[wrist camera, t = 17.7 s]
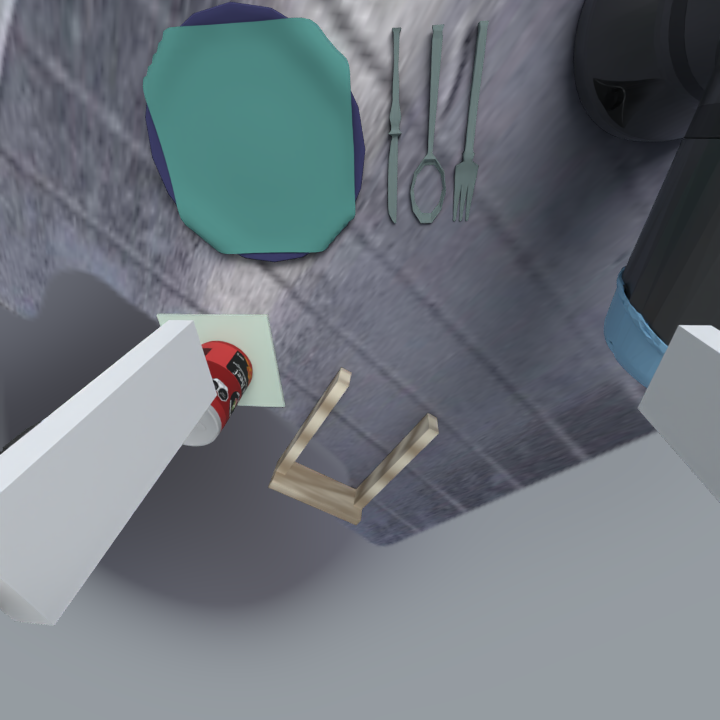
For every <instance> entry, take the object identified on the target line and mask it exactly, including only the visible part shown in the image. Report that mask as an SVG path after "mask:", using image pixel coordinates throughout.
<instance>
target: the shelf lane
mask: <svg viewBox="0 0 720 720" xmlns="http://www.w3.org/2000/svg"><path fill="white" fill-rule="evenodd" d="M350 377H351V372H349V371H347V370H345V369H343V368H342V367H341V369H340V370H339V372H338V373H337V375H336V376H335V377H334V379H333V380H332V382H331V383H330V385H329V386H328V388H327V389H326V391H325V392H324V394H323V395H322V397H321V398H320V400H319V401H318V403H317V404H316V406H315V407H314V409H313V410H312V411H311V413H310V414H309V416H308V417H307V419H306V420H305V422H304V423H303V425H302V426H301V428H300V429H299V431H298V432H297V434H296V435H295V437H294V438H293V440H292V441H291V443H290V444H289V446H288V447H287V448H286V450H285V452H284V453H283V454H282V456H281V457H280V459H279V460H278V462H277V465H276V468H275V470H274V473H273V476H272V478H271V481H270V484H269V488H271V489H273V490H276V491H278V492H280V493H282V494H285V495H287V496H289V497H292V498H294V499H296V500H299V501H301V502H303V503H306V504H308V505H310V506H313V507H315V508H317V509H320V510H322V511H324V512H327V513H329V514H331V515H333V516H336V517H338V518H340V519H343V520H345V521H347V522H350V523H352V524H354V525H357V524H358V523H359V522H360V521H361V514H362V509H363V508H364V507H365V506H366V505H367V504H368V503H369V502H370V501H371V500H372V499H373V498H374V497H375V496H376V495H377V494H378V493H379V492H380V491H381V490H382V489H383V488H384V487H385V486H386V485H387V484H388V483H389V482H390V481H391V480H392V479H393V478H394V477H395V476H396V475H397V474H398V473H399V472H400V471H401V470H402V469H403V468H404V467H405V466H406V465H407V464H408V463H409V462H410V461H411V460H412V459H413V458H414V457H415V456H416V455H417V454H418V453H419V452H420V451H421V450H422V449H424V448H425V447H426V446H427V445H428V444H429V443H430V442H431V441H432V440H433V439H434V438H435V437H436V436H437V435H438V434H439V431H438V423H437V418H436V417H434V416H432V415H430V414H429V413H427V414H426V416H425V417H424V418H423V419H422V420H421V421H420V422H419V423H418V424H417V425H416V426H415V427H414V428H413V429H412V430H411V431H410V433H409V434H408V435H407V436H406V437H405V438H404V439H403V440H402V441H401V442H400V443H399V444H398V445H397V446H396V447H395V448H394V449H393V451H392V452H391V453H390V454H389V455H388V456H387V457H386V458H385V459H384V460H383V461H382V462H381V463H380V464H379V465H378V466H377V468H376V469H375V470H374V471H373V472H372V473H371V474H370V475H369V476H368V477H367V478H366V479H365V480H364V481H363V482H362V483H361V484H360V486H359V487H358V488H357V489H354V488H352V487H349V486H347V485H345V484H342V483H341V482H338V481H336V480H334V479H331V478H330V477H327V476H325V475H323V474H321V473H319V472H316V471H314V470H312V469H310V468H308V467H305V466H303V465H301V464H299V463H297V462H295V460H296V459H297V458H298V456H299V455H300V453H301V452H302V451H303V449H304V448H305V446H306V445H307V443H308V442H309V441H310V439H311V438H312V437H313V435H314V434H315V433H316V431H317V430H318V428H319V427H320V426H321V424H322V423H323V421H324V420H325V419H326V417H327V416H328V414H329V413H330V412H331V410H332V409H333V408H334V406H335V405H336V403H337V402H338V401H339V399H340V398H341V396H342V395H343V394H344V392H345V391H346V389H347V388H348V387H349V382H350Z"/></svg>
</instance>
